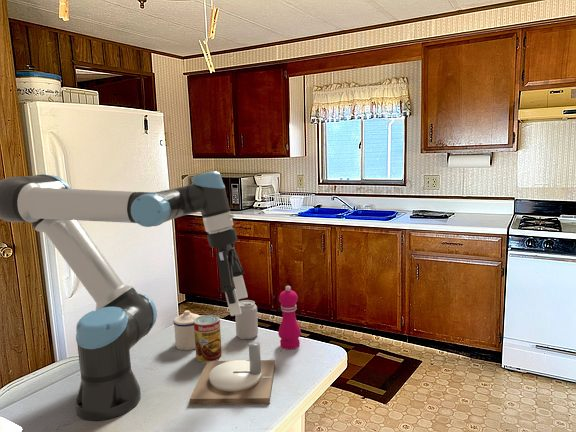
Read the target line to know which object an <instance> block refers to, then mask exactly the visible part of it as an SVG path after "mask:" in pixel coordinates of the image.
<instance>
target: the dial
mask: <svg viewBox="0 0 576 432" xmlns="http://www.w3.org/2000/svg"><path fill="white" fill-rule="evenodd" d="M248 356H249V359H248V360H249V361H245V359H244V360H243V359H239V360H238V359H236V360H228V361H229V362H225V363H222V364H220V365H218V366H216V367H214V368H213V369H212V370H211V372H210V374H209V379H210V384H211V385H212V386H213V387H214V388H216V389H218V390H221V391H228V392H234V391H241V390H245V389H248V388H251V387H253V386H254V385H256V384H257V383H258V382H259V381H260V379H261V360H262V358H261V357H262V356H261V343H260V342H259V341H252V342H250V343H248Z"/></svg>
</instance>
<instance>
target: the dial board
mask: <svg viewBox="0 0 576 432" xmlns="http://www.w3.org/2000/svg"><path fill="white" fill-rule="evenodd" d="M244 360H245V359H244ZM229 361H230V360H216V361H207V362H205V363H206V364H205V365H204V367H203V370H202V372H201V374H200V376H199V378H198V380H197V382H196V385H195V387H194V389H193V391H192V393H191V395H190V397H189V405H192V406H193V405H270V402H271V397H272V388H273V384H274V383H273V382H274V376H275V375H274V374H275V368H276V360H275V359H268V360H267V359H265V360H262V359H261V379H260V381H259V382H258V383H257V384H256V385H254V386H253V387H251V388H248V389H245V390H241V391H234V392H228V391H221V390H218V389H216V388H214V387H213V386H212V385H211V384H210V379H209V374H210V372H211V370H212V369H213V368H214V367H216V366H218V365H220V364H222V363H225V362H229ZM245 361H249V359H248V360H245Z"/></svg>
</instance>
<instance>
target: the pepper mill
mask: <svg viewBox="0 0 576 432" xmlns="http://www.w3.org/2000/svg"><path fill="white" fill-rule="evenodd" d="M298 300H299V298H298V294H297V293H296V291H294V290H292V287H291V286H290V285H286V286H285V290H283V291H281V292H280V294H279V297H278V301H279V303H280V311H282V318H281V319H282V320H281V322H280V325H279V328H278V337H279V338H280V340H279V342H280V348H282V349H283V350H294V349H295V350H296V349H297V348H299V347H300V344H301V343H300V339H299V338H300V336H301V334H302V333H301V332H302V331H301V327H300V325H299V323H298V321H297V317H296V311H297V309H298V308H297V303H298Z"/></svg>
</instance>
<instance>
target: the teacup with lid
mask: <svg viewBox="0 0 576 432" xmlns="http://www.w3.org/2000/svg"><path fill="white" fill-rule="evenodd" d="M200 316H201V315H199V314H197V313H193V312H191V311H190V310H185V311H184V312H183V313H182V314H181V315H177V316H176V317H175V318H174V319H173V321H172V322H173V326H174V327H173V328H174V339H175V342H174V343H175V347H176V348H177V349H178V350H181V351H191V350H196V349H195V334H194V319H196V318H197V317H200Z"/></svg>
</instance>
